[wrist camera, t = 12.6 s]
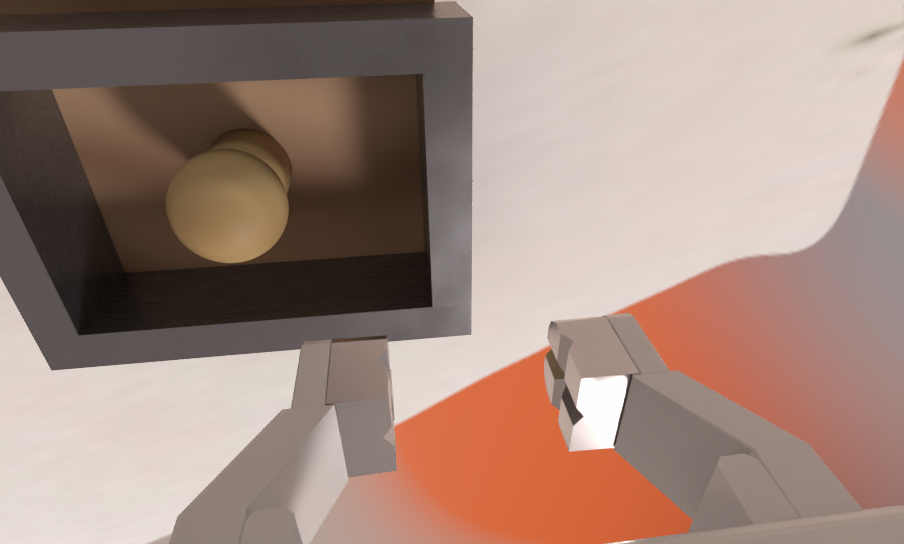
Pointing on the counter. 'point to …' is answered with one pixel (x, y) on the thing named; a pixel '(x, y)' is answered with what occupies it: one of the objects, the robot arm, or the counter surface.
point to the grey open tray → (236, 286)
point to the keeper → (247, 159)
